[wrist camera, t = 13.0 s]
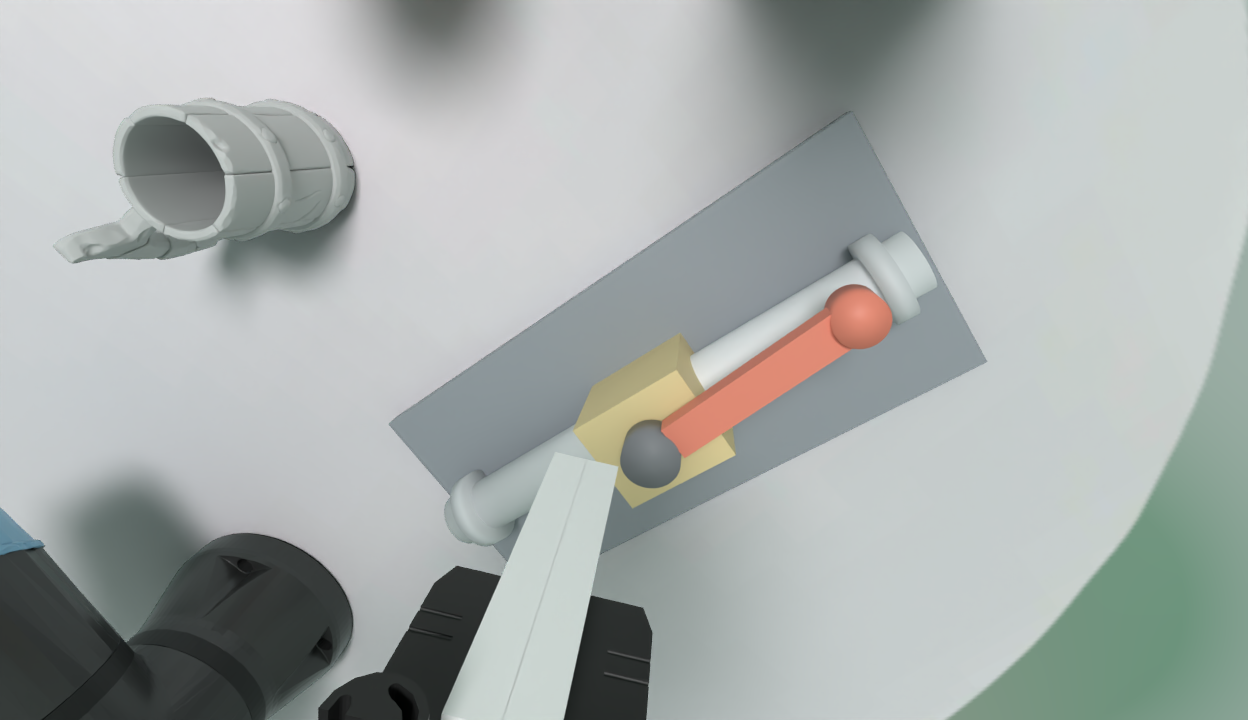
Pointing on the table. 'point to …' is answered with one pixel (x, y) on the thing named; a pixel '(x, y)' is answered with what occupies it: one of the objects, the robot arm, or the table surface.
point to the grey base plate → (699, 348)
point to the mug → (218, 178)
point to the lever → (755, 384)
